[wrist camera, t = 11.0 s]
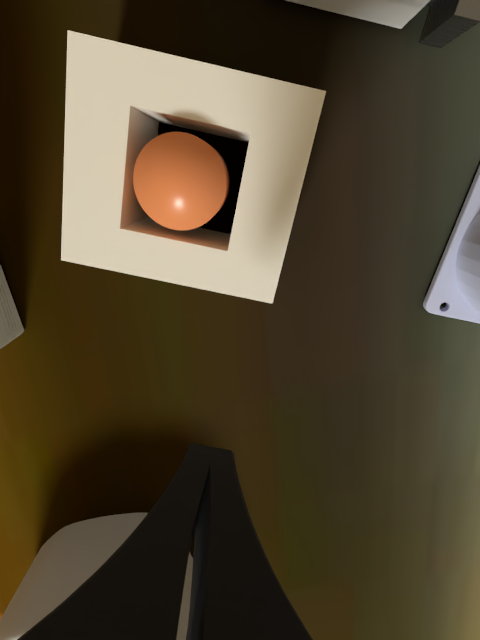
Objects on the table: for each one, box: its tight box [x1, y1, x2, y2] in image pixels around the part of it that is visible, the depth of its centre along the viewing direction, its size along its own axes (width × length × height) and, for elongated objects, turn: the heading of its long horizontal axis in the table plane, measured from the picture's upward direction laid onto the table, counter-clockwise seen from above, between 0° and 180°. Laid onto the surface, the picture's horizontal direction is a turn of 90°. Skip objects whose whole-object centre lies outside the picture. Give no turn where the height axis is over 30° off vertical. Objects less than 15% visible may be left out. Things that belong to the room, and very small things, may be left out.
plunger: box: [133, 132, 230, 230], centre depth 16 cm, size 3×3×5 cm
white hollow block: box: [61, 30, 326, 303], centre depth 16 cm, size 9×8×4 cm
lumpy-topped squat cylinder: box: [0, 513, 193, 640], centre depth 25 cm, size 10×13×9 cm
